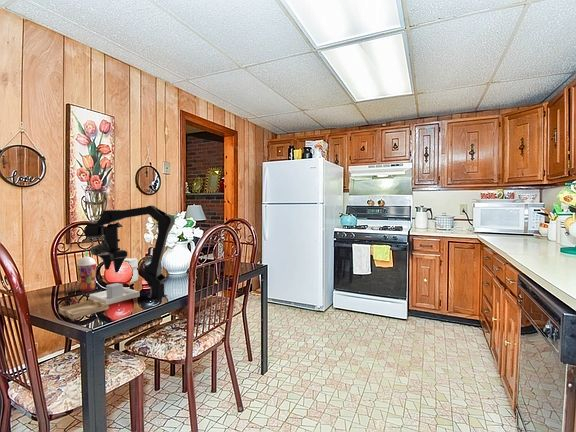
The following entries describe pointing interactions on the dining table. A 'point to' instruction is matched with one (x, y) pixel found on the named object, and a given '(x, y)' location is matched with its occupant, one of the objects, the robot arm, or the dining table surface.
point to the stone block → (114, 290)
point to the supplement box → (133, 267)
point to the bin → (126, 295)
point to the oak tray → (83, 309)
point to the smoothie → (86, 273)
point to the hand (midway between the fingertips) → (111, 270)
